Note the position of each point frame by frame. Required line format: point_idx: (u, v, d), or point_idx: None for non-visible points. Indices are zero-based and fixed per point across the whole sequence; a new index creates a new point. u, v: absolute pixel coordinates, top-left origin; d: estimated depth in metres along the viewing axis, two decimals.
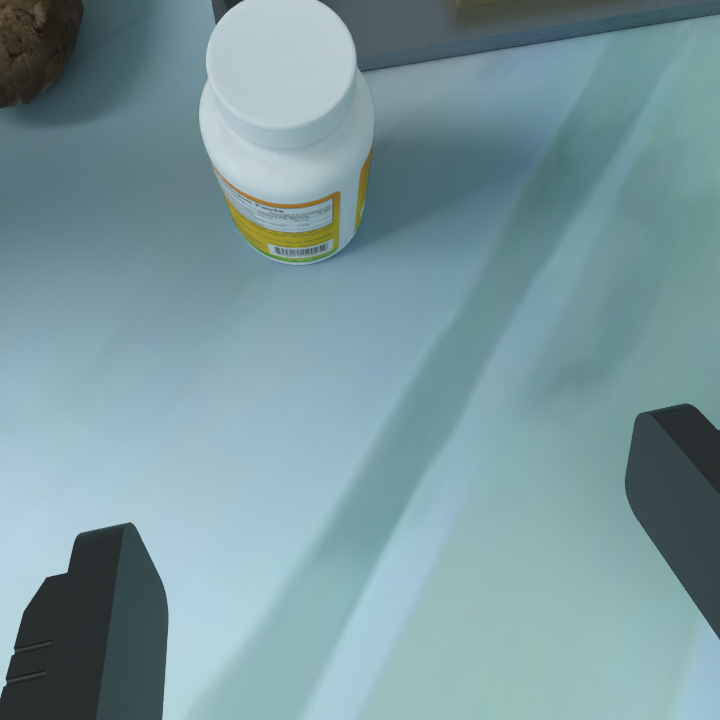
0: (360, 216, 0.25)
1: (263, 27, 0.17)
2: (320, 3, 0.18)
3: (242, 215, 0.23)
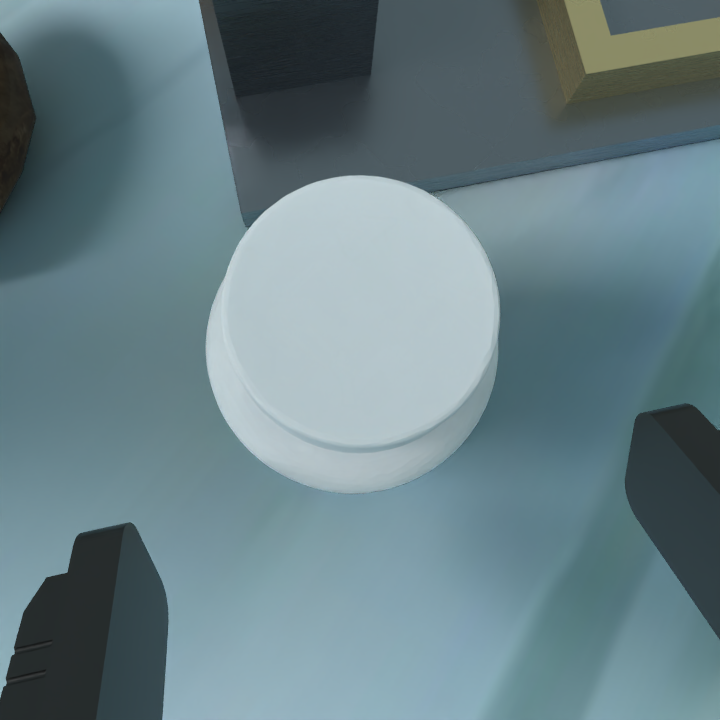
0: None
1: (327, 246, 0.09)
2: (429, 198, 0.10)
3: None
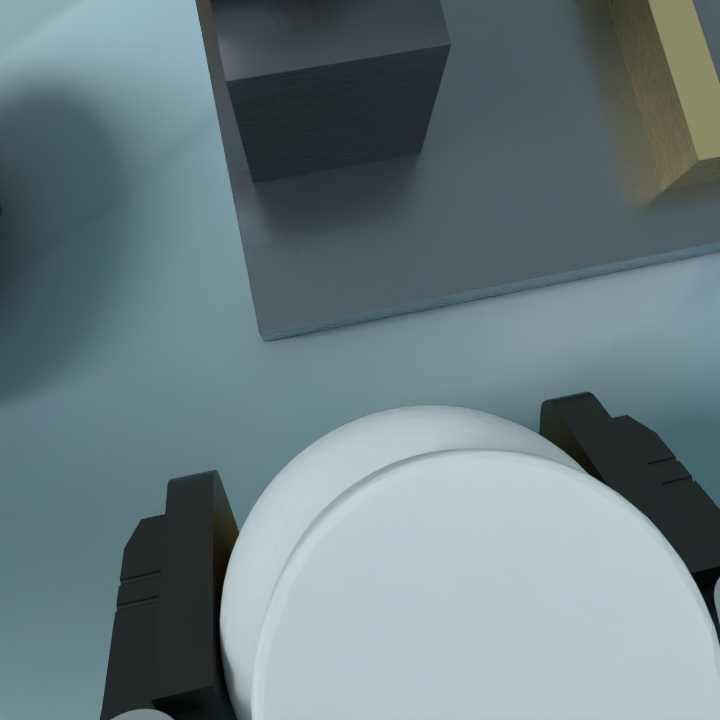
0: None
1: (432, 584, 0.05)
2: (603, 492, 0.06)
3: None
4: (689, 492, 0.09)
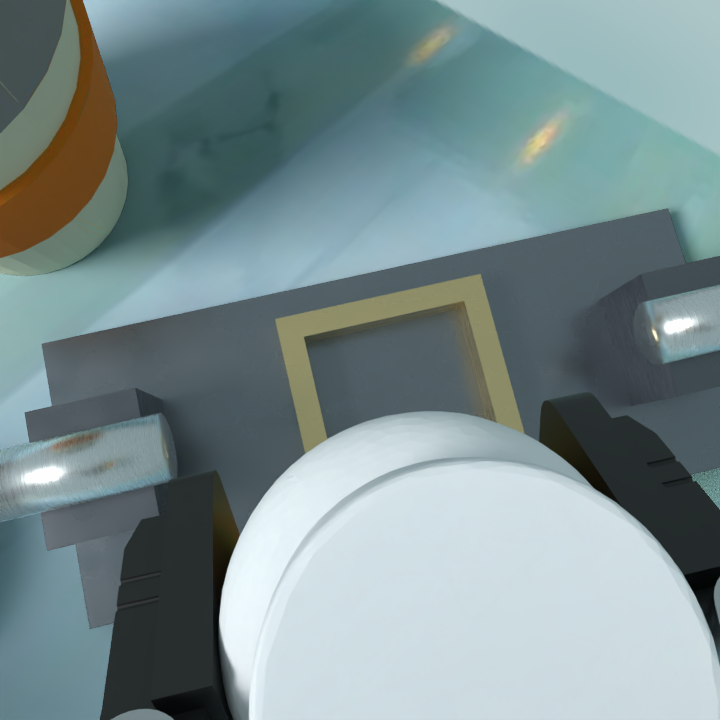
0: None
1: (430, 594, 0.05)
2: (600, 503, 0.06)
3: None
4: (689, 492, 0.09)
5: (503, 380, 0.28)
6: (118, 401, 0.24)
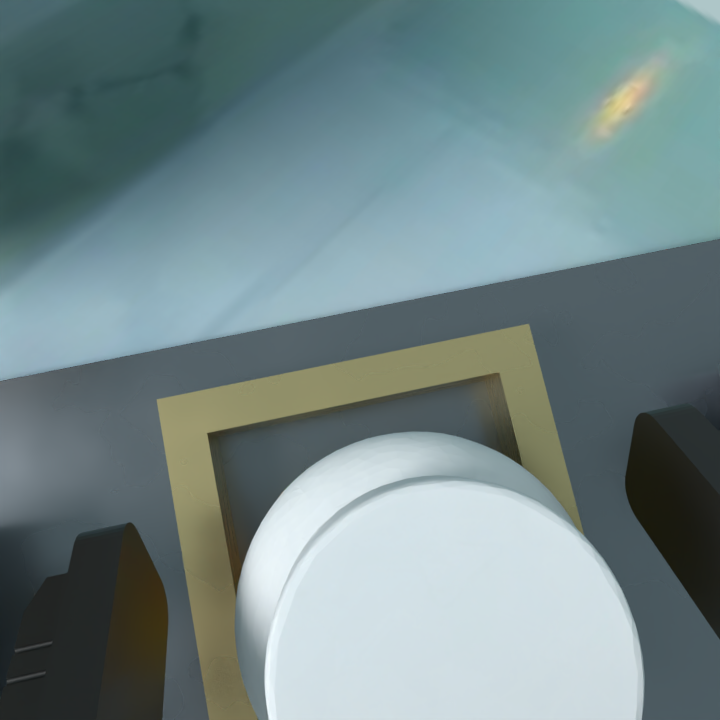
0: None
1: (408, 588, 0.07)
2: (546, 514, 0.07)
3: None
4: None
5: None
6: None
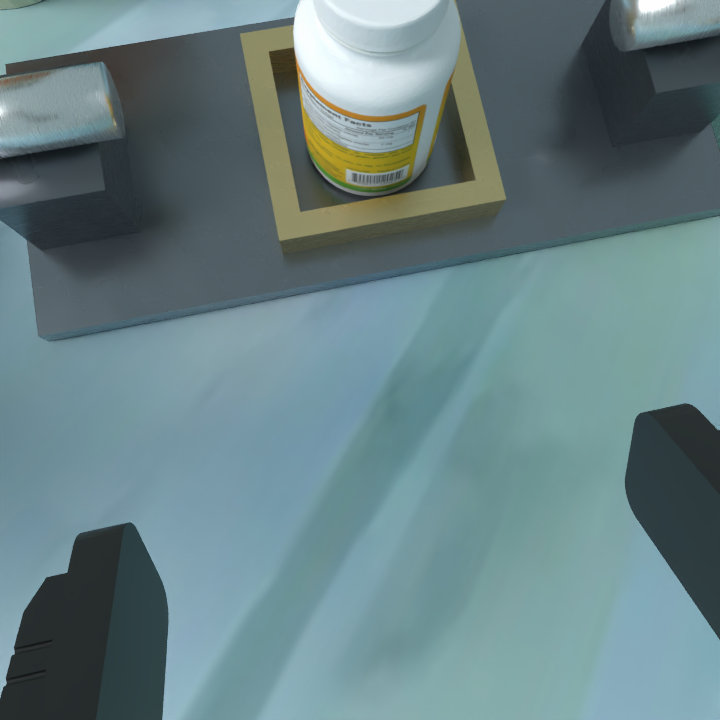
0: (433, 146, 0.26)
1: None
2: None
3: (326, 137, 0.23)
4: None
5: (474, 101, 0.26)
6: None
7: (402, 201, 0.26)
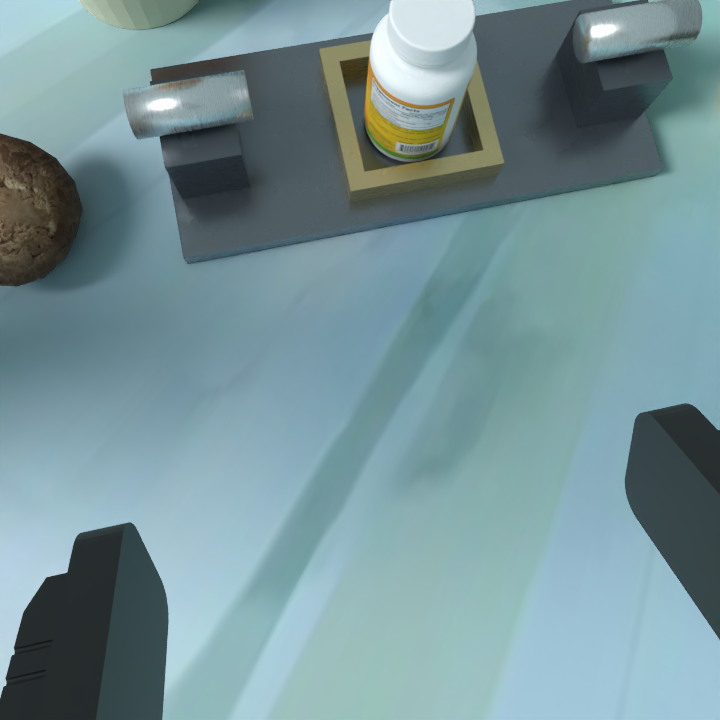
0: None
1: None
2: None
3: (386, 119, 0.35)
4: None
5: (481, 95, 0.38)
6: None
7: (433, 164, 0.38)
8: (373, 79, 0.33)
